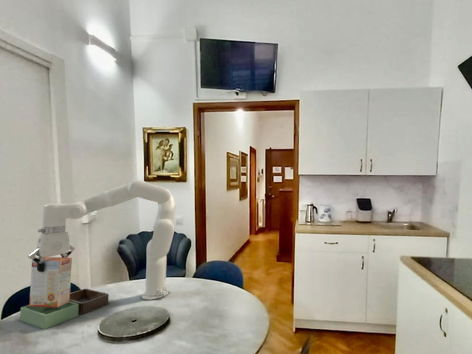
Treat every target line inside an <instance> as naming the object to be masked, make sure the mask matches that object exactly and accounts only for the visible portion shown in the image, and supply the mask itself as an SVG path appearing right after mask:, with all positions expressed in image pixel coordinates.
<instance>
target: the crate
mask: <svg viewBox="0 0 472 354" xmlns="http://www.w3.org/2000/svg"><path fill="white" fill-rule="evenodd" d="M109 296H110V295H109V293H106V292H104V291H103V292H102V291H98V290H94V289H90V288H82V289H79V290H76V291H73V292H70V302H74V303H77V304H79V307H78V315H85V314H87V313H89V312H92V311H94V310H98V309H100V308H102V307H105V306H107V305H109ZM84 299H85V300H87V301H85V302H81V301H82V300H84Z"/></svg>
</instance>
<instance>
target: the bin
mask: <svg viewBox="0 0 472 354" xmlns="http://www.w3.org/2000/svg"><path fill="white" fill-rule="evenodd" d="M29 305H30V304H27V305H25V306H21V307H20V311H19V312H20V315H19V321H20V322H24V323H26V324H29V325H32V326H34V327H37V328H40V329H43V330H47V329H49V328H51V327H54V326H56V325H59V324H61V323H65V322H67V321H69V320H71V319H74V318H76V317H79V314H78V307H79V304H77V303H74V302H69V303H67V304H64V305H62V306H60V307H57V308H52V307H33V306H29Z"/></svg>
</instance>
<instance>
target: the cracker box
mask: <svg viewBox="0 0 472 354" xmlns="http://www.w3.org/2000/svg"><path fill="white" fill-rule="evenodd" d="M72 260H73V259H72V257H68V258H64V257H61V256H49V257H46V258H45V259H44V261H43V263H44V272H38V270H37V263H36V262H35V261H33V260H32V259H31V272H30V289H29V304H28V305H29V306H33V307H52V308H57V307H60V306H62V305H64V304H67V303H69V302H70V293H71V283H72V282H71V278H72V263H73V261H72Z"/></svg>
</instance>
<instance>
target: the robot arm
mask: <svg viewBox="0 0 472 354" xmlns="http://www.w3.org/2000/svg"><path fill="white" fill-rule="evenodd" d="M135 198H139V199H143V200H146V201H151V202H156V203H157V205H158V208H157V214H156V217H155V221H154V223H153V226H152V231H153V234H152V237H151V239H150V240H149V241H148V242H147V245H146V267H145V268H146V269H145V291H144V293H142V294H141V298H142V299H143V300H148V301H149V300H151V301H152V300H156V299H161V298H163V297H165V296H167V295H168V294H169V292H170V289H168V286H167V285H166V283H167V255H168V254H169V252H170V249H171V246H172V242H173V238H174V235H175V224H174V223H173V222H174V218H175V213H176V205H177V204H176V200H175V198H174V196H173V194H172V193H171V191H170V189H168V188H167V187H163V186H160V185H156V184H153V183H149V182H147V181H144V180H140V179H139V180H138V179H137V180H133V181H131V182H127V183H125V184H121V185H119V186H116V187H113V188H111V189H108V190H105V191H102V192H101V193H98V194H96V195H93V196H91V197H88V198H85V199H82V200H79V201H75V202H73V203H72V202H71V203H60V202H58V203H57V202H55V203H46V204H45V205H43V210H42V227H41V228H39V229H38V230H37V232H38V233H40V234H39V237H38V240H37V244H36V249H35V250H34V251H33V252H31V253H30V254H29V255H27V258H29V259H30V260H31V261H32V260H33V261H35V262H36V263H37V270H38V272H44V263H43V261H44V259H45V258H46V257H55V256H59V255H60V257H64V258H69V256H71V255H72V253H73V252H74V251H75V250H76V247H74V246H72V245H70V235H69V233H68V231H66V225H67V224H66V223H67V219H71V220H78V219H81V218H83V217H85V216H87V215H89V214H91V213H94V212H97V211H99V210H103V209H106V208H108V207H109V208H110V207H114V206H118V205H121V204H122V203H125V202H127V201H130V200H133V199H135ZM36 256H37V257H36Z"/></svg>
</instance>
